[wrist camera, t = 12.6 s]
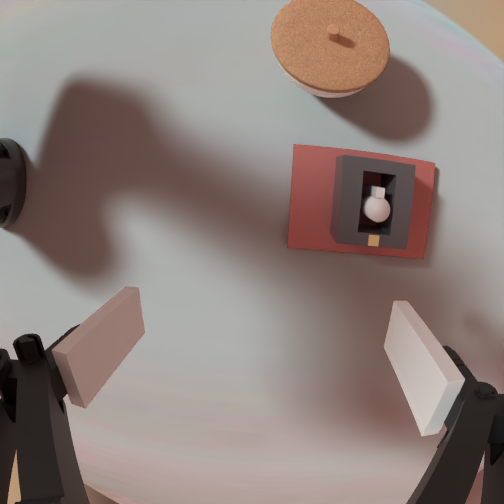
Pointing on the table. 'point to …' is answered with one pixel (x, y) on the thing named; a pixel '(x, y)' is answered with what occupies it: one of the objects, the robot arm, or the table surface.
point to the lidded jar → (329, 46)
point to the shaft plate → (322, 201)
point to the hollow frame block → (349, 201)
